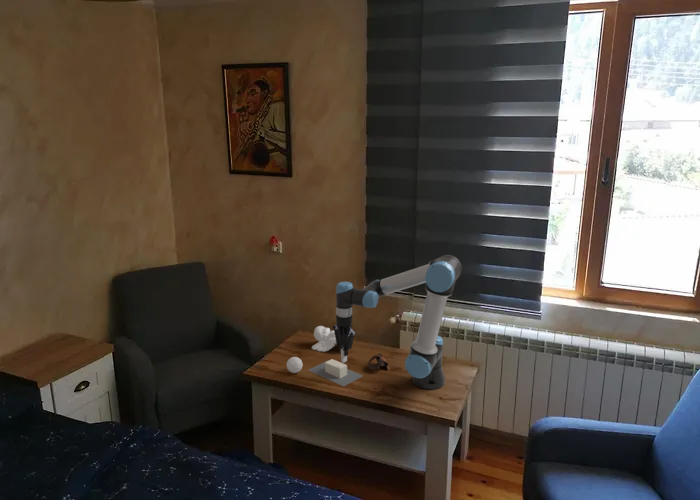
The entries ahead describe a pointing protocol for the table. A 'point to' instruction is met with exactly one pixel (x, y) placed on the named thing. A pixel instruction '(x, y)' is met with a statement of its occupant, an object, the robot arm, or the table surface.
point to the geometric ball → (294, 364)
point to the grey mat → (342, 381)
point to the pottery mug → (380, 360)
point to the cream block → (336, 368)
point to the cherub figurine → (324, 339)
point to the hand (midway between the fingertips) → (344, 361)
